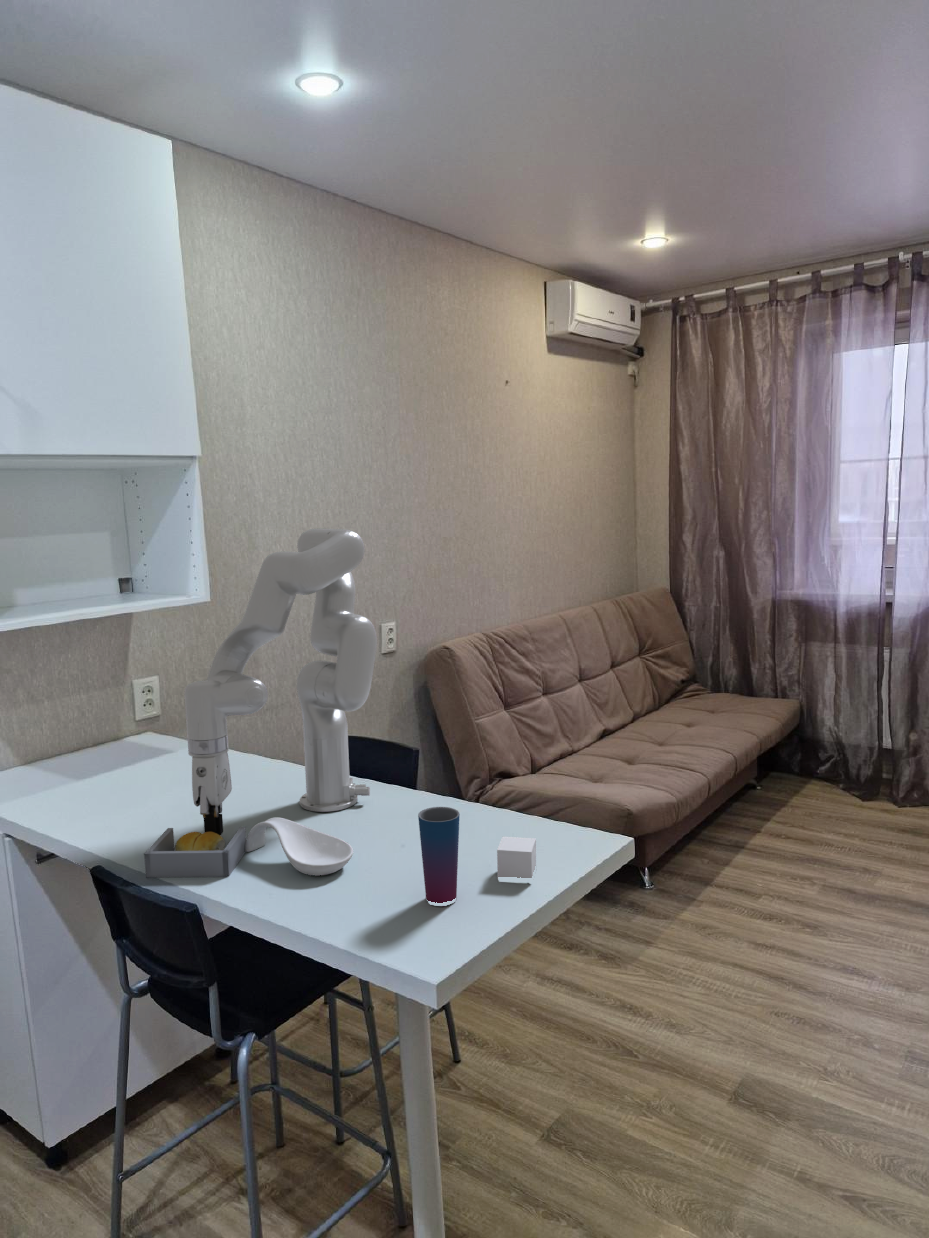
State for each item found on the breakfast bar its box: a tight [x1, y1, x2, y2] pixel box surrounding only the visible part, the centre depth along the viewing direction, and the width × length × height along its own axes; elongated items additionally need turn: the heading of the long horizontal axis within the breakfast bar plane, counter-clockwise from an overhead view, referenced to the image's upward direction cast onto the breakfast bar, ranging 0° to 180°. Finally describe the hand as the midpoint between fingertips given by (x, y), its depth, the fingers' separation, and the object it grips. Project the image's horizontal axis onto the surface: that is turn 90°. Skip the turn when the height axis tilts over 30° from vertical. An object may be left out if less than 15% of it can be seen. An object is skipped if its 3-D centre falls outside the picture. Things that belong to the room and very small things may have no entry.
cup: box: [417, 806, 460, 903], centre depth 145 cm, size 7×7×15 cm
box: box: [143, 826, 247, 878], centre depth 163 cm, size 15×12×4 cm
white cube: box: [496, 836, 537, 878], centre depth 154 cm, size 6×6×6 cm
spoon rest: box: [245, 816, 354, 877], centre depth 162 cm, size 24×12×7 cm, turn 56°
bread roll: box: [174, 831, 226, 851], centre depth 168 cm, size 8×9×4 cm
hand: (214, 834), depth 173 cm, fingers closed
